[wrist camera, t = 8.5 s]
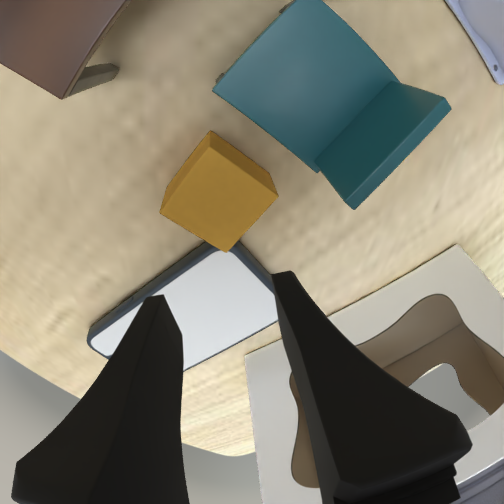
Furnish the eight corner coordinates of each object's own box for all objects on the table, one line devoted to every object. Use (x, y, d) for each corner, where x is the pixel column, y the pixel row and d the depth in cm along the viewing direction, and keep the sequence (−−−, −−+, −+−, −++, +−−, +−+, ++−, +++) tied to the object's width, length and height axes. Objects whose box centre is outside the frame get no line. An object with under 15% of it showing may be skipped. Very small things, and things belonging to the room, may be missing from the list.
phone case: (224, 222, 21) (83, 328, 25) (225, 235, 20) (79, 342, 24) (294, 297, 25) (155, 374, 30) (299, 312, 24) (154, 388, 28)
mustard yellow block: (269, 173, 19) (279, 196, 16) (224, 224, 21) (226, 253, 18) (210, 130, 17) (209, 146, 14) (166, 187, 19) (158, 213, 16)
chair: (363, 74, 16) (457, 104, 9) (295, 145, 18) (348, 217, 11) (285, 2, 13) (345, -32, 6) (212, 81, 15) (210, 106, 8)
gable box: (299, 402, 36) (342, 612, 13) (240, 355, 29) (281, 655, 6) (464, 319, 31) (559, 519, 8) (459, 240, 24) (616, 519, 1)
